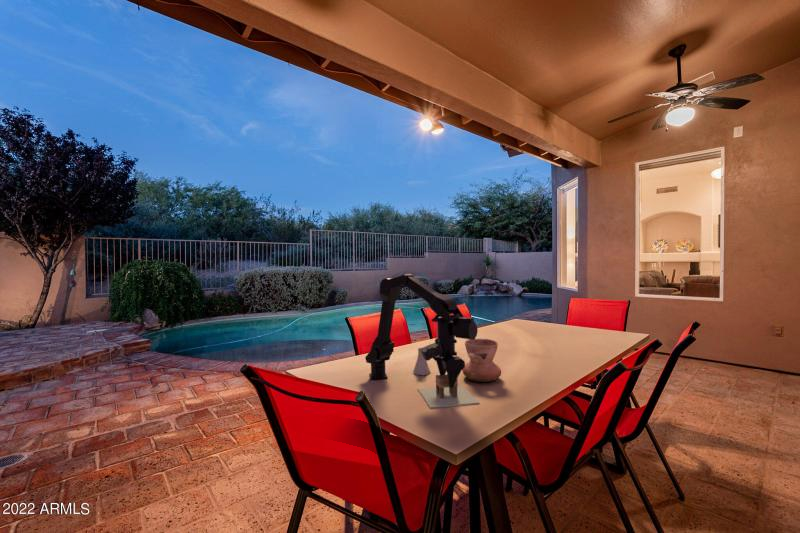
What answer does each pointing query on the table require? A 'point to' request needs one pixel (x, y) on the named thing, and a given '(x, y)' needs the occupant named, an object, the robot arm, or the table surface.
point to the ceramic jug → (481, 360)
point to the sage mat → (447, 397)
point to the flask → (421, 365)
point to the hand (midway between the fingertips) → (446, 382)
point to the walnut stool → (445, 386)
